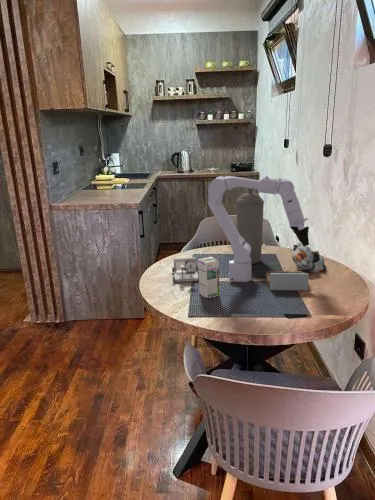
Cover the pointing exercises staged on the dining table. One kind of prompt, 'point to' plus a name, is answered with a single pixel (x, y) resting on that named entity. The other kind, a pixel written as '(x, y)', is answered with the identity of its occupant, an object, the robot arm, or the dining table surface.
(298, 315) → the phone
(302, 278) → the cabinet door
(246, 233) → the canister
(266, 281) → the brown shallow open box
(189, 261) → the grey small appliance
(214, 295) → the syrup box
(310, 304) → the dining table surface
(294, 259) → the lucky cat figurine
